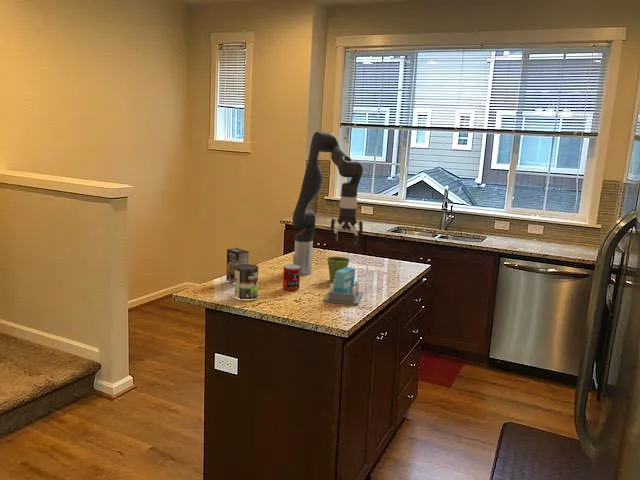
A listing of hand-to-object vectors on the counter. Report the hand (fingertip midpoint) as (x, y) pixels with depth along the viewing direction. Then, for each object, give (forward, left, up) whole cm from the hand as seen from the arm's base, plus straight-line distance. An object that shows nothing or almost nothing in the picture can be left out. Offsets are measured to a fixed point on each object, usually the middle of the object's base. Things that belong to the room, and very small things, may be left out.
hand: (345, 242), depth 249 cm
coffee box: (-52, +3, -25) cm, 58 cm away
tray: (+1, -4, -25) cm, 25 cm away
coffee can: (-40, -19, -25) cm, 51 cm away
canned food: (-25, +2, -25) cm, 35 cm away
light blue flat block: (+1, -4, -24) cm, 24 cm away
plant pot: (-7, +25, -25) cm, 36 cm away
